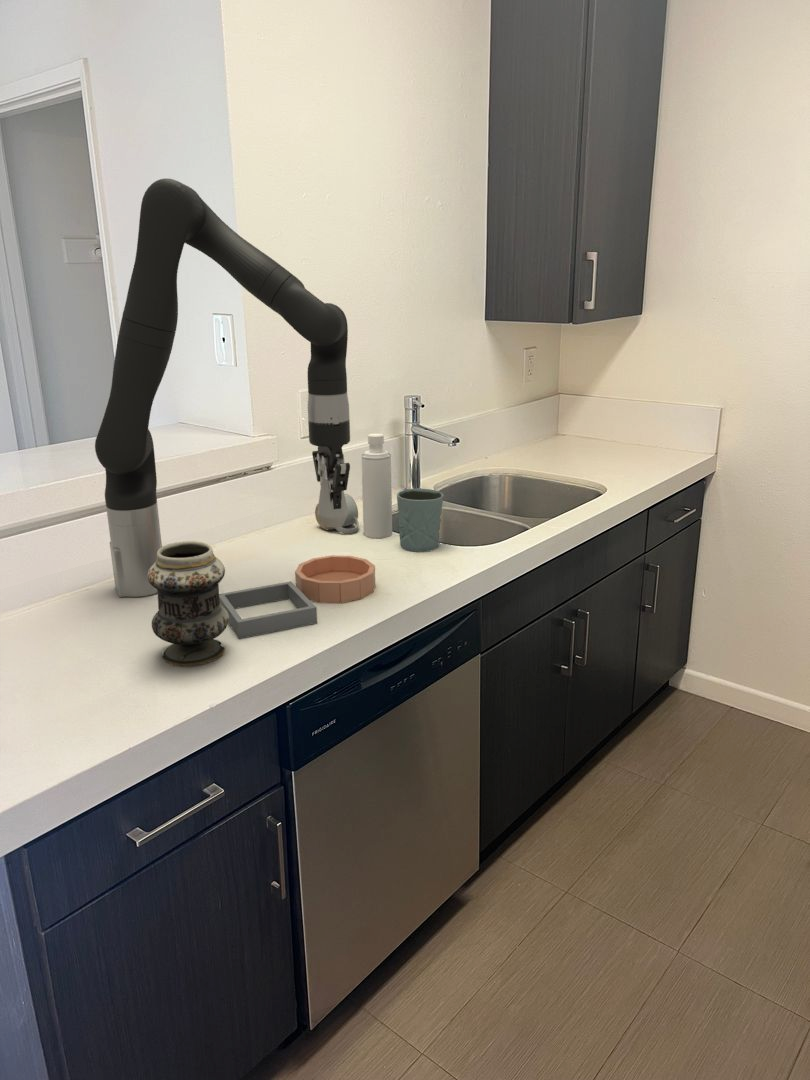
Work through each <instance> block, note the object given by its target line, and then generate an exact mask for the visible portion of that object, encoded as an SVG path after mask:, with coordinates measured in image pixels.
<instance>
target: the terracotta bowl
mask: <svg viewBox="0 0 810 1080" xmlns="http://www.w3.org/2000/svg"><path fill="white" fill-rule="evenodd" d="M294 576H295V577H294V579H295V586H296V587H297V588H298V589H299V590H300V591H301V592H302V593H303V594H304V595H305V596H306V597H307V598H308V599H309V600H310V601H311V600H312V601H311V602H315V601H316V603H320V604H321V603H323V604H326V603H327V604H343V603H342V602H344V603H348V602H347V601H349V602H352V601H351V600H354V601H359V600H362V599H363V598H365V597H367V596H369V595H371V594H374V590H375V588H376V565H375V564H374V563H372V562H371V561H369V560H368V559H366V558H362V557H358V556H354V555H334V554H333V555H325V556H320V557H313V558H311V559H308V560H305V561H304V562H303V561H302V562H301V563H299V564H298V566H297V567H296V569H295V570H294ZM358 599H359V600H358ZM340 602H341V603H340Z"/></svg>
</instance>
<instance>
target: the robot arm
mask: <svg viewBox="0 0 810 1080" xmlns="http://www.w3.org/2000/svg"><path fill="white" fill-rule="evenodd" d="M140 203H141V204H140V213H139V221H138V222H139V223H138V233H137V234H138V235H137V243H136V253H135V257H134V258H135V260H134V265H133V269H132V271H131V272H132V273H131V276H130V280H129V284H128V289H127V295H126V298H125V299H126V300H125V303H124V308H123V312H122V315H121V320H120V327H119V331H118V335H117V341H116V348H115V356H114V361H113V368H112V369H113V370H112V379H111V385H110V386H111V387H110V393H109V398H108V402H107V405H106V407H105V410H104V415H103V418H102V420H101V424H100V427H99V430H98V432H97V435H96V438H95V442H94V450H95V454H96V458H97V460H98V462H99V463H100V464H101V465H100V466H102V467H103V468H104V470H105V489H104V501H105V509H106V517H107V523H108V531H109V532H108V533H109V538H110V542H109V549H110V557H111V564H112V565H111V566H112V570H113V571H112V573H113V578H114V579H113V581H114V585H115V590H116V593H117V595H118V597H119V598H124V597H130V598H132V597H133V598H135V597H136V598H138V597H139V598H140V597H146V596H147V597H148V596H151V595H154V594H158V593H157V589H156V588H154V587H153V586H152V585H151V584H150V582H149V580H148V571H149V569H150V567H151V566H152V565H153V564H154V563H155V562H156V560H157V552H158V550H159V549H160V548H161V547H162V546H163V544H162V535H161V526H160V516H159V508H158V507H159V506H158V505H159V504H158V499H157V497H158V496H157V485H158V484H157V483H158V481H157V480H158V479H157V470H156V469H157V468H156V455H155V448H154V447H155V445H154V440H153V436H152V433H151V431H150V430H149V425H150V419H151V412H152V407H153V404H154V400H155V397H156V394H157V391H158V390H159V387H160V384H161V382H162V380H163V377H164V375H165V373H166V369H167V366H168V363H169V361H170V358H171V357H170V356H171V353H172V350H173V346H174V341H175V337H176V332H177V326H178V317H179V301H178V300H179V299H178V271H179V266H180V262H181V261H180V260H181V257H182V252H183V250H184V245H185V244H186V245H188V246H190V247H192V248H194V249H195V250H197V251H198V252H201V253H202V254H204V255H205V256H207V257H209V258H210V259H211V260H213V261H214V262H216V263H217V264H218V265H219V266H220V267H221V268H222V269H223V270H225V271H226V272H227V273H228V275H230V276H231V277H232V278H233V279H234V280H236V282H237V283H238V284H239V285H240V286H241V287H242V288H244V289H245V290H246V291H247V292H248V293H250V294H251V295H252V296H253V297H254V298H256V299H257V300H258V301H260V302H261V303H262V304H264V305H265V306H267V307H268V308H269V309H270V310H272V311H273V312H275V313H276V314H278V315H279V316H280V317H282V318H283V320H284V321H285V322H286V323H287V324H289V326H290V327H292V329H293V330H294V331H296V332H297V334H299V335H300V336H301V337H302V338H304V339H305V340H306V341H308V342H309V343H310V360H309V363H308V366H307V394H308V395H307V396H308V398H307V421H308V422H307V425H308V441H309V444H310V445H312V446H315V447H317V450H313V451H312V452H311V453H312V460H313V465H314V471H315V475H316V480H317V482H318V483H319V485H320V486H321V481H322V474H323V471H322V470H321V469H320V466H319V462H320V460H321V459H322V464H323V465H324V473H325V479H326V480H328V486H329V492H330V501H332V498H333V506H334V510H335V509H341V500H342V494H341V491H344V492H345V491H347V490H348V484H349V477H350V476H349V475H350V470H351V464H350V463H349V462H345V455H344V453H343V447H344V445H347V444H349V443H350V442H351V426H350V424H351V423H350V421H351V420H350V403H349V396H348V375H347V374H348V373H347V366H346V365H347V362H346V361H347V353H348V339H349V338H348V336H349V335H348V334H349V333H348V331H349V329H348V328H349V325H348V319H347V316H346V314H345V312H344V311H343V309H342V308H340V307H339V306H338V305H337V304H335V303H331V302H330V303H329V302H324V301H323V300H321V299H319V298H318V297H317V296H316V295H314V293H312V292H310V290H307V288H305V285H304V283H303V282H302V281H301V280H300V279H299V278H297V276H296V275H294V274H293V273H291V272H290V271H289V270H288V269H286V268H285V267H283V266H282V265H281V264H280V263H279V262H277V261H276V260H274V259H273V258H271V257H270V256H269V255H268V254H266V253H264V251H262V250H260V249H259V248H258V247H256V246H255V245H253V244H252V243H250V242H248V241H247V240H246V239H244V237H242V236H241V235H239V234H238V233H237V232H236V231H234V229H232V228H231V227H230V226H228V225H229V224H227V223H225V221H223V220H222V219H221V218H220V216H219V215H218V214H216V212H214V210H212V208H211V207H210V206H209V205H208V204H207V203H206V202H205V201H204V199H202V198H201V196H200V195H199V193H198V192H197V191H195V190H194V189H193V188H192V187H190V186H188V185H186V184H184V183H182V182H180V181H179V180H176V179H173V178H160V179H158V180H155V181H154V182H152V183H151V184H150V185H149V186H148V188H147V189H146V190H145V191H144V193H143V196H142V200H141V202H140ZM330 474H334V475H332V476H331V475H330ZM336 496H337V497H336ZM337 504H338V505H337Z"/></svg>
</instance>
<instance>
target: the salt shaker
mask: <svg viewBox="0 0 810 1080" xmlns="http://www.w3.org/2000/svg"><path fill="white" fill-rule="evenodd" d="M319 466H320V469H321V470H322V471H323V474H322V481H321V485H320V490H319V496H318V503H317V504H318V511H317V513H318V516H319V518H320V520H321V522H322V525H324V526H325V527H339V526H343V525H344V522H345V520H346V518H347V516H348V508H347V503H346V499H345V495H344V494H345V490H344V491H341V494H342V500H341V509H335V510H334V506H333V498H332V501H330V492H329V486H328V480H326V479H325V473H324V465H323V464H322V459H321V460H320V462H319ZM330 475H331V476H332V475H334V474H330ZM336 497H337V496H336ZM337 505H338V504H337Z"/></svg>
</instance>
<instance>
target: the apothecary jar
mask: <svg viewBox="0 0 810 1080" xmlns="http://www.w3.org/2000/svg"><path fill="white" fill-rule="evenodd" d="M225 574H226V567H225V564H224V563H223V561H221V560H220V558H218V557H217V556H215V554H214V551H213V548H212V546H211V545H210V544H208V543H206V542H203V541H198V540H197V541H196V540H195V541H193V540H187V541H186V540H185V541H176V542H172V543H168V544H165V545H162V547H161V548H160V549H159V550H158V552H157V560H156V562H155V563H154V564H153V565H152V566H151V567H150V569H149V571H148V580H149V582H150V584H151V585H152V586H153V587H154V588H156V589H157V593H156V594H157V603H158V604H157V605H158V609H157V612H156V613H155V614H154V615H153V616H152V619H151V630H152V632H153V634H154V635H155V636H156V637H157V638H159V639H160V640H162V641H164V642H166V643H170V644H171V645H169V646H167V647H166V648H165V649H164V650H163V652H162V659H163V661H164V662H165V663H167V664H169V665H172V666H174V667H184V668H185V667H196V666H198V667H199V666H203V665H207V664H209V663H213V662H214V661H217V660H218V659H220V658H221V657H222V656H223V655H224V654H225V650H226V648H225V647H224V646H223V644H222V642H221V641H219V640H217V639H215V638H217V637H219V636H220V635H221V634H223V632H224V631H225V630H226V629H227V627H228V626H229V615H228V612H227V611H226V609H225V608H224V607H222V606H221V605H220V598H219V594H220V589H219V588H220V587H219V583H221V582H222V580H223V579H224V578H225Z"/></svg>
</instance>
